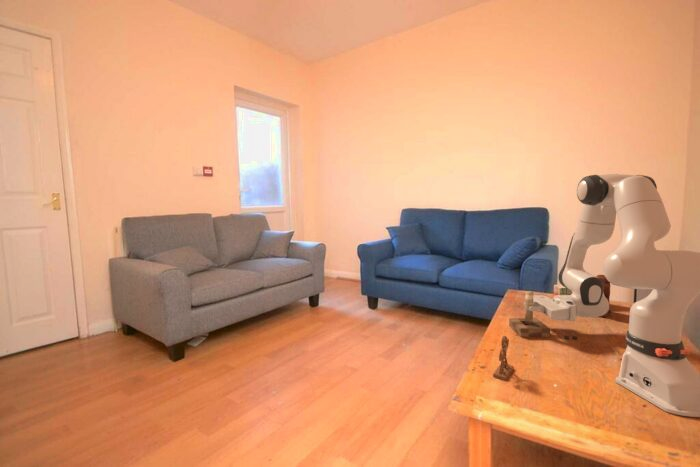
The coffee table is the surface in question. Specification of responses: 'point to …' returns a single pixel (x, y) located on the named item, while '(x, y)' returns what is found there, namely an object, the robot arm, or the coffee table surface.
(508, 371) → the brown ring sculpture
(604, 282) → the wooden figurine
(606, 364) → the coffee table surface
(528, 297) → the wooden dowel
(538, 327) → the square hole block
